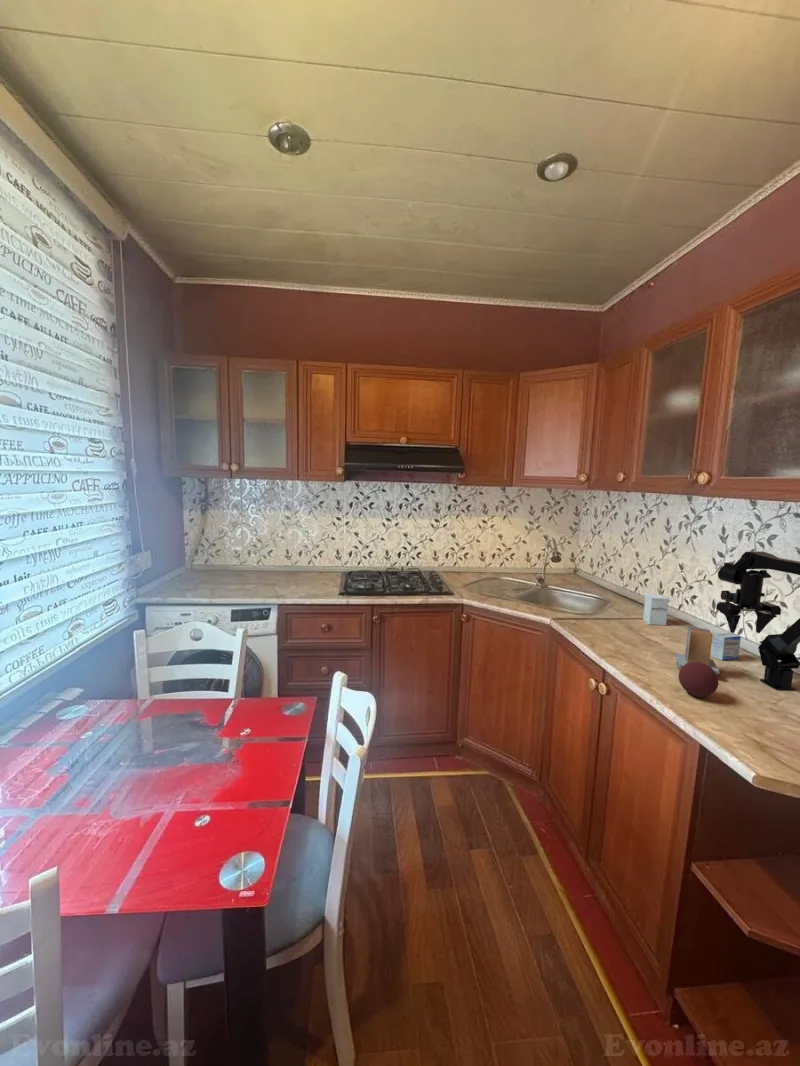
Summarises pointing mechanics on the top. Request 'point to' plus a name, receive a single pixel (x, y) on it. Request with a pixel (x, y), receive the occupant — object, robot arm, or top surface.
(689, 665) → the decorative ball
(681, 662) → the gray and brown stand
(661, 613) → the supplement box
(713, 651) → the medicine box
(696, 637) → the two-tone metal block
